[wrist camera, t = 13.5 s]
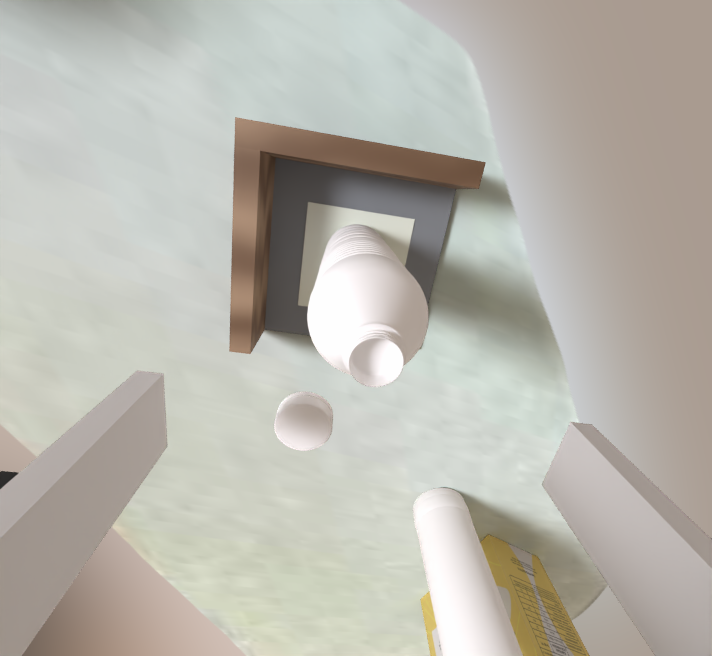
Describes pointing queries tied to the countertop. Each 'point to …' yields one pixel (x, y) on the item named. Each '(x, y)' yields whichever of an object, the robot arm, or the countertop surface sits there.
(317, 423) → the water bottle
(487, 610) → the bottle
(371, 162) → the corner walls
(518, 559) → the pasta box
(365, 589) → the countertop surface
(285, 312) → the mat
